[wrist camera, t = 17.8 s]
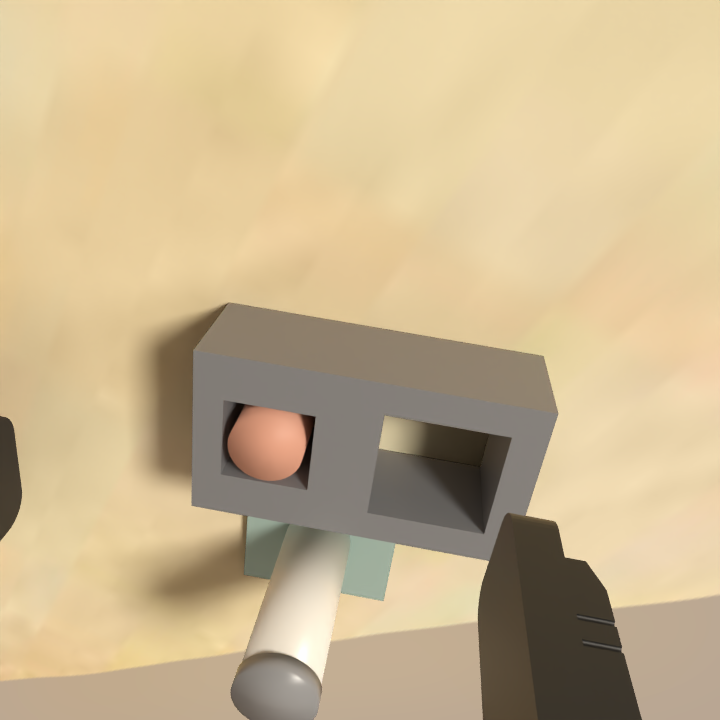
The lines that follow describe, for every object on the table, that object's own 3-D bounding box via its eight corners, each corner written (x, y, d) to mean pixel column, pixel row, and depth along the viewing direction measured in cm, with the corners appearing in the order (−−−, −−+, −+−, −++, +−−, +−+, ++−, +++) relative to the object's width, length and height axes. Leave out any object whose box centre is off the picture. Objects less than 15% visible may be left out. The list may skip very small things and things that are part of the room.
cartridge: (282, 559, 46) (229, 720, 36) (286, 507, 44) (231, 662, 34) (348, 571, 46) (314, 736, 35) (355, 519, 44) (321, 679, 33)
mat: (246, 568, 48) (243, 574, 48) (252, 468, 44) (250, 474, 43) (384, 594, 48) (383, 601, 47) (404, 496, 43) (403, 502, 43)
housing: (223, 444, 43) (191, 505, 38) (229, 302, 38) (193, 350, 33) (502, 494, 42) (509, 564, 37) (543, 356, 38) (558, 413, 32)
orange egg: (255, 413, 41) (226, 473, 36) (258, 357, 39) (229, 411, 34) (319, 425, 41) (299, 486, 36) (325, 368, 39) (306, 425, 34)
